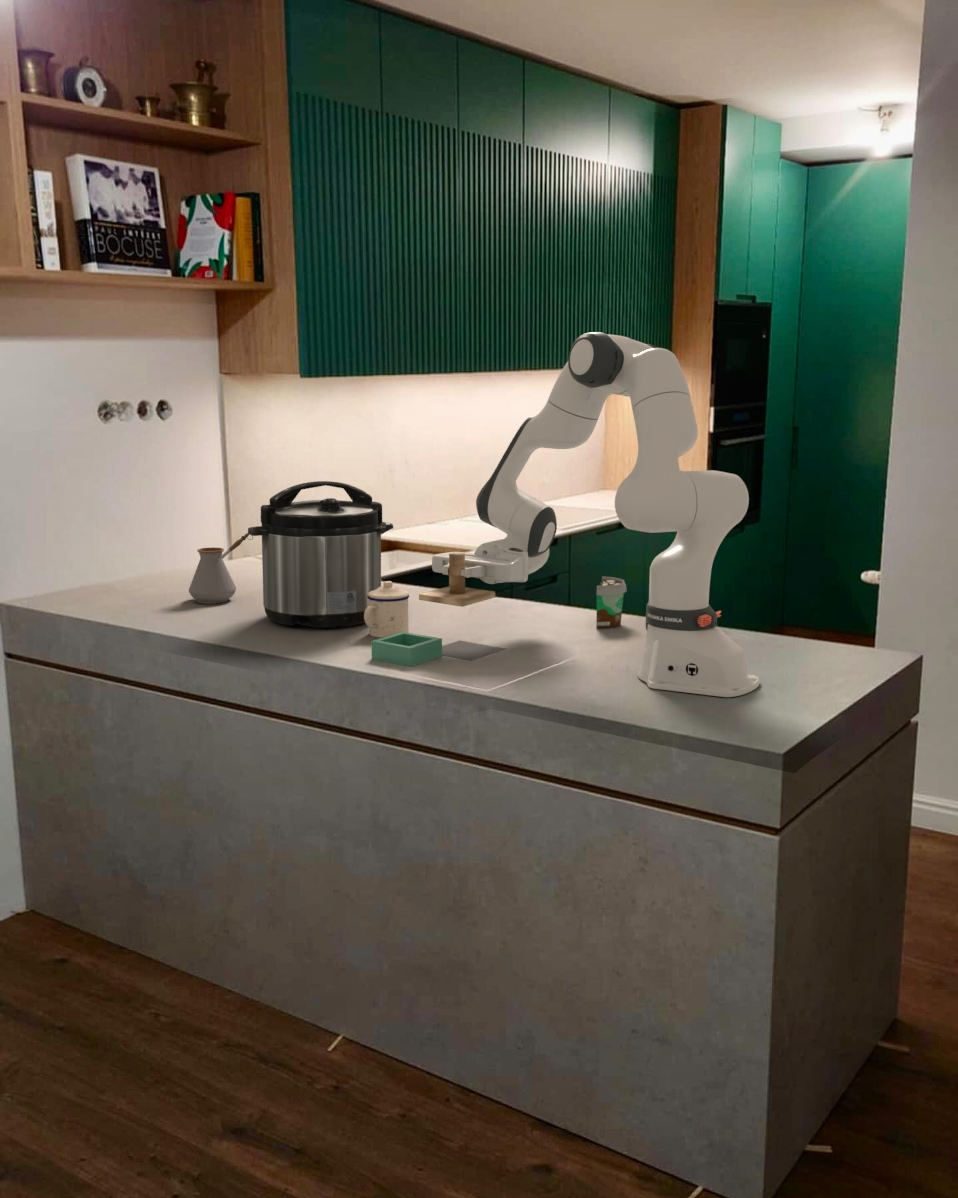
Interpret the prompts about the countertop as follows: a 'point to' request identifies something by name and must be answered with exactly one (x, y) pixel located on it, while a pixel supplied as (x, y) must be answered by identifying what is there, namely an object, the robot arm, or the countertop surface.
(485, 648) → the mat
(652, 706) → the countertop surface
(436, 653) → the dish
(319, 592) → the pressure cooker
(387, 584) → the teacup with lid
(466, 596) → the lid
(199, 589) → the coffee pot
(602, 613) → the food container
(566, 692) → the countertop surface
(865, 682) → the countertop surface
